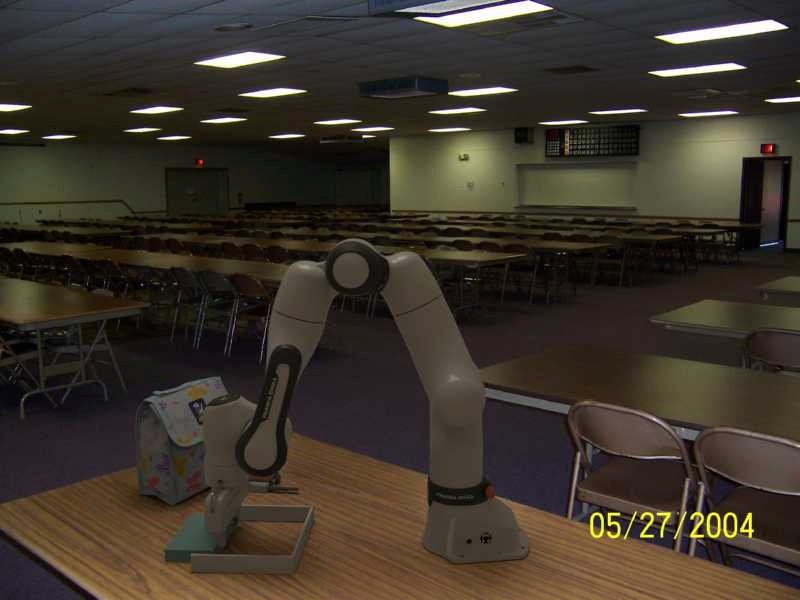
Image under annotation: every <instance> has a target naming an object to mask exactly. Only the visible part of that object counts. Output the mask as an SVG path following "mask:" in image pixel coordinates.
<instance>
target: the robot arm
mask: <svg viewBox="0 0 800 600" xmlns="http://www.w3.org/2000/svg"><path fill="white" fill-rule="evenodd" d="M427 265H428V264H426V263H425V261H424V260H423V259H422V257H421V255H419V254H418V253H416V252H413V251H408V250H407V251H399V252H395V253H393V254H392V255H383V254H382V253H380V252H379V250H378V249H377V247H376V246H375V245H374V244H373V243H371V242H369V241H368V240H366V239H361V238H354V237H353V238H347V239H344V240H342V241H339V242H338V243H337V244H336V245H335V246H333V248H331V250H330V251H329V253H328V254H327V256H326V258H325V259H324V260H323V261H321V262H318V261H313V260H298V261H295V262H293V263H292V264H290V266H288V268H287V269H286V272H285V273H284V276H283V278H282V280H281V282H280V284H279V287H278V290H277V293H276V295H275V298H274V303H273V306H272V309H271V313H270V319H269V326H268V332H267V347H266V361H265V362H266V363H265V364H266V365H265V373H264V377H263V378H264V379H263V381H262V382H263V383H262V385H261V390H260V393H259V397H258V400H257V404H255V403H254V402H251V401H249V400H247V399H246V398H245V397H244V396H242V395H241V394H237V393H236V394H235V393H228V395H223V396H220V397H218V398H215V399H213V400H212V401H210V402H209V403H208V405H207V406H206V407H205V410H204V416H203V442H204V445H205V449H206V451H205V456H204V473H205V483H206V484H207V485H208V486H211V487H210V488H211V490H210V492H209V493H208V495H207V496H206V498H205V502H204V503H205V504H204V515H205V531H206V533H207V534H214V535H215V537H216V540H217V546H218V547H223V548H224V547H225V546H226V545H227V543H228V540H227V536H226V534H225V531H226V528H227V526H228V525H229V523H230V525H232V526H233V525H235V527H236V526H238V525H239V523H240V521H241V520H240V510H241V504H242V503H243V502H244V500H245V499H246V497H247V496H248V492H249V490H248V489H249V474H250V475H253V476H258V477H266V476H270V475H273V474H275V473H277V472H279V471H281V469H282V468H283V467H284V465H286V462H287V459H288V453H289V452H288V451H289V446H290V443H291V439H292V435H293V424H292V421H291V418H290V417H289V414H290V413H289V412H290V409H291V405H292V401H293V398H294V394H295V391H296V387H297V385H298V382H299V380H300V377H301V375H302V373H303V372H304V370H305V368H306V367H307V365H308V363H309V361H310V360H311V358H312V356H313V355H314V352H315V351H316V349H317V346H318V345H319V342H320V340H321V338H322V335H323V331H324V329H325V327H326V326H325V325H326V321H327V318H328V314H329V311H330V307H331V304H332V302H333V301H334V299H335V297H337V296H338V295H340V294H341V295H343V296H346V297H359V296H360V297H361V296H366V295H374V294H380V296H382V297H383V299H384V300H385V303H386V304H387V306H388V309H389V310H390V314H391V315H392V317H393V319H394V321H395V323H396V326H397V328H398V330H399V332H400V334H401V337H402V338H403V340H404V342H405V345H406V347H407V349H408V351H409V353H410V356H411V359H412V362H413V364H414V366H415V369H416V371H417V374H418V377H419V378H420V382H421V384H422V386H423V389H424V391H425V393H426V396H427V398H428V400H429V475H428V476H427V482H426V501H427V504H428V507H427V516H426V521H425V526H424V531H423V534H422V536H421V543H422V545H423V547H424V548H425V549H427V550H428V551H429V552H431V553H433V554H435V555H438V556H440V557H443V558H445V559H446V560H448V561H449V562H450V563H452V564H457V565H458V564H459V565H460V564H471V563H485V562H495V561H496V562H497V561H509V560H520V559H521V560H522V559H524V558H525V557H527V555H528V553H529V552H530V542H529V537H528V535H527V533H526V531H525V530H524V529H523V527H521V526H519V525H518V521H517V517H516V515H515V512H514V511H513V509H512V508H511V507H510V506H509V505H507V504H506V503H504V502H503V501H502V500H500V499H499V498H498V497H496V488H495V487H494V486H493V483H492V481H491V480H490V477H489V475H486V477H485V476H483V468H484V466H483V461H484V460H483V457H484V455H483V454H484V440H483V439H484V437H483V414H482V413H483V410H484V408H485V407H486V406H485V405H486V401H487V394H486V393H487V392H486V389H485V385H484V382H483V377H482V375H481V372H480V369H479V368H478V366H477V365H476V364H475V363H474V361H473V359H472V357H471V354H470V352H469V349H468V348H467V346H466V343H465V340H464V338H463V336H462V334H461V331H460V329H459V326H458V324H457V322H456V320H455V318H454V316H453V312H451V309H450V308H449V305H448V303H447V300H446V299H445V297H444V294H443V292H442V289H441V288H440V286H439V284H438V282H437V280H436V278H435V277H434V275H433V273H432V272H431V270H430V269H429V267H428V266H427Z"/></svg>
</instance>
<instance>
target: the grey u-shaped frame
mask: <svg viewBox="0 0 800 600" xmlns="http://www.w3.org/2000/svg"><path fill="white" fill-rule="evenodd" d="M240 521H262V522H263V521H264V522H268V521H269V522H270V521H271V522H304V523H303V525H302V528H301V530H300V533H299V535H298V538H297V540H296V543H295V546H294V548H293V551H292V553H291V555H273V554H271V555H270V554H269V555H265V554H263V555H262V554H260V555H259V554H258V555H257V554H228V553H227V554H226V553H225V554H223V553H221V554H220V553H219V554H191V562H190V565H191V566H190V568H191V569H190V570H191V572H192V573H216V574H217V573H221V574H222V573H223V574H225V573H226V574H260V575H262V574H267V575H270V574H271V575H295V573H296V570H297V568H298V565H299V562H300V560H301V557H302V554H303V552H304V549H305V546H306V543H307V542H308V538H309V535H310V533H311V531H312V530H311V529H312V527H313V525H314V522H315V506H314V505H290V504H289V505H284V504H281V505H280V504H279V505H278V504H241V510H240Z"/></svg>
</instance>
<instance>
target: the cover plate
mask: <svg viewBox="0 0 800 600" xmlns="http://www.w3.org/2000/svg"><path fill="white" fill-rule="evenodd" d="M235 528H236V526H235V525H233V526H232V525H230V523H229V525H228V526H227V528H226V531H225V534H226V536H227V541H228V540H229V538H230V537H231V535H232V533H233V532H234V530H235ZM223 548H224V547H218V546H217V540H216V537H215V535H214V534H207V533H206V531H205V514H198V513H196V514H190V515H189V516H188V518H187V519H186V520H185V521H184V523H183V524H182V525H181V526H180V528H179V530H177V532H176V534H175V535H174V536H173V538H172V539H170V542H168V544H167V545H166V547H165V548H164V561H165V562H170V563H172V562H173V563H191V554H220V553H221V552H222V549H223Z"/></svg>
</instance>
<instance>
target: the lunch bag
mask: <svg viewBox="0 0 800 600" xmlns="http://www.w3.org/2000/svg"><path fill="white" fill-rule="evenodd" d="M152 394H153V395H152V396H151V395H150V396H149V397H147V398H145V399H143V401H142V402H141V404H140V405H139V407H138V409H137V410H136V413H135V414H136V415H135V422H134V431H135V433H134V434H135V435H134V436H135V450H136V453H135V454H136V471H137V487H138V493H139V494H142V495H146V496H156V497H157V498H159V499H161V500H163V502H166V503H167V504H169V505H171V506H176V504H179V503H180V502H182V501H184V500H186V499H188V498H191V497H192V496H194V495H197V494H198V493H201V492H202V491H204V490H206V489H208V488H209V489H210V488H211V486H208V485H207V484H206V483H205V473H204V456H205V451H206V449H205V445H204V442H203V416H204V410H205V407H206V406H207V405H208V403H209V402H210V401H212V400H213V399H215V398H218V397H220V396H223V395H228V394H229V393H228V391H227V389H226V387H225V385H224V383H223V381H222V379H221V376H212V377H211V376H210V377H207V378H202V379H197V380H192V381H188V382H186V383H183V384H181V385H179V386H178V387H174V388H170V389H166V390H162V391H161V390H160V391H159V390H155V391H152Z"/></svg>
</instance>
